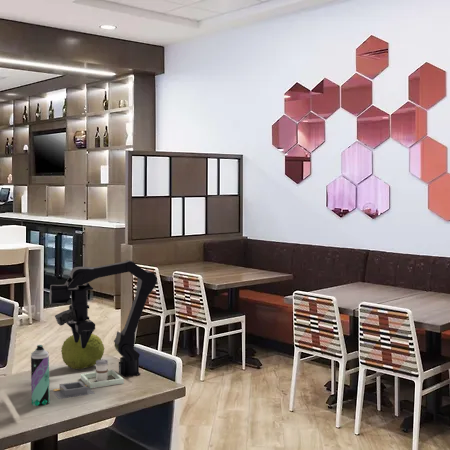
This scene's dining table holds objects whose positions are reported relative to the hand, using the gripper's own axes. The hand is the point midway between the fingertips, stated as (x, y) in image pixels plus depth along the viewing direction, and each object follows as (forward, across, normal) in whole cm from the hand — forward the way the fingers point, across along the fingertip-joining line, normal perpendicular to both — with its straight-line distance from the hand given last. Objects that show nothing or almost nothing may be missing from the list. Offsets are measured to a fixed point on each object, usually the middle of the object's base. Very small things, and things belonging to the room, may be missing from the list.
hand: (79, 345), depth 236 cm
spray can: (+13, +23, -19) cm, 32 cm away
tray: (+12, +10, +5) cm, 17 cm away
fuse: (+12, +10, +5) cm, 16 cm away
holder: (+12, +17, -7) cm, 22 cm away
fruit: (+13, -14, +5) cm, 20 cm away
